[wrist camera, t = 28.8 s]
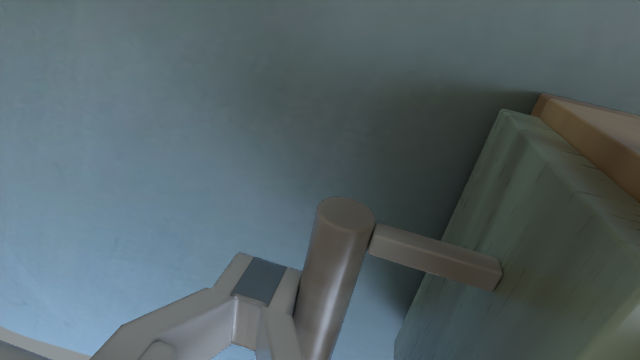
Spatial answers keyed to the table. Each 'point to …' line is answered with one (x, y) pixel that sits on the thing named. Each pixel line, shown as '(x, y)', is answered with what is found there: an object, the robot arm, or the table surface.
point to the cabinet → (597, 136)
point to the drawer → (495, 261)
